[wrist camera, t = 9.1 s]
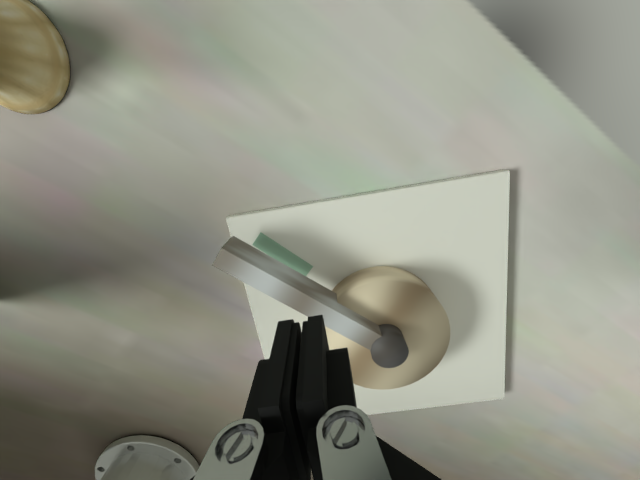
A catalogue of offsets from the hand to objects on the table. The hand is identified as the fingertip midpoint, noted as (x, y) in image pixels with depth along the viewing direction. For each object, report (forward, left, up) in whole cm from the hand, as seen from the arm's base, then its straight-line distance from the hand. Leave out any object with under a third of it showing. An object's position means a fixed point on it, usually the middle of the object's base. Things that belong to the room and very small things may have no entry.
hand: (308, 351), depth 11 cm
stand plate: (-10, -4, -17) cm, 20 cm away
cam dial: (-6, -1, -16) cm, 17 cm away
